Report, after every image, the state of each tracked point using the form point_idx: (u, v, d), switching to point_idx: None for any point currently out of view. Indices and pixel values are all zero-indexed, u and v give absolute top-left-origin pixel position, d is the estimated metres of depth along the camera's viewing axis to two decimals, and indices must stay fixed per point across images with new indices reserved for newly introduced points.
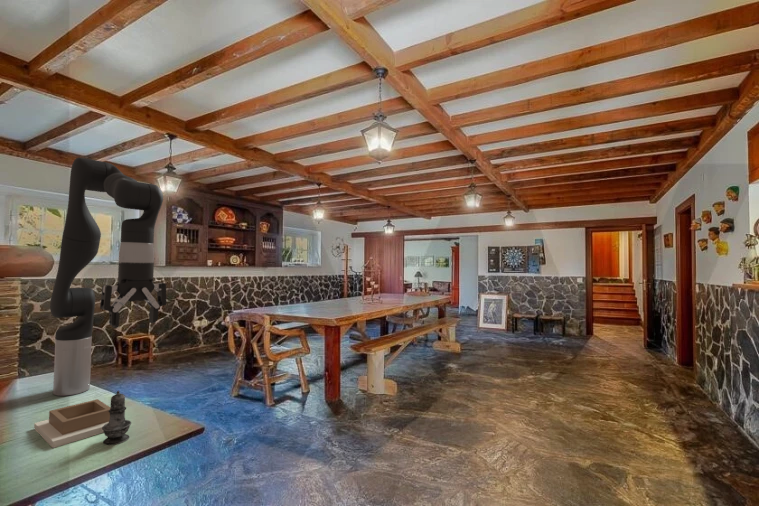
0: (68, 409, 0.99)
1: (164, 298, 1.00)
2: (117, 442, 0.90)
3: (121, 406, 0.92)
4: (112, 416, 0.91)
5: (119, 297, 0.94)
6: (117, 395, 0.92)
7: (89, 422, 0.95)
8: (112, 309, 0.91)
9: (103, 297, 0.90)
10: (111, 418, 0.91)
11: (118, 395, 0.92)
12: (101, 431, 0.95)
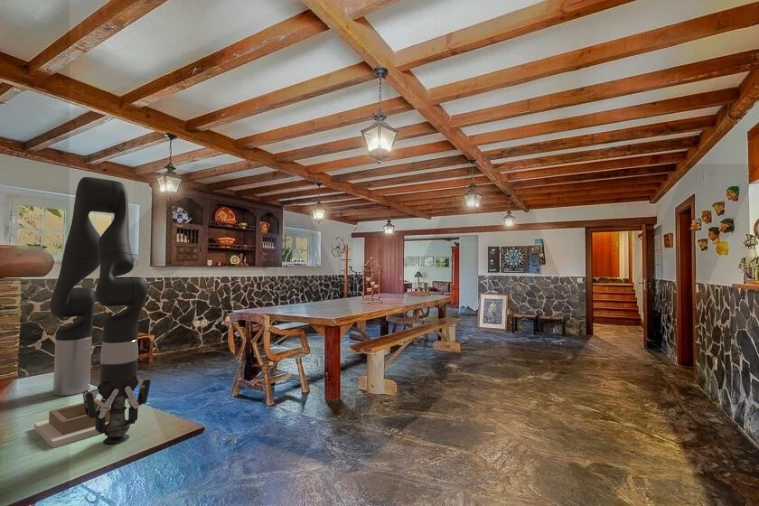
0: (68, 409, 0.99)
1: (145, 396, 0.96)
2: (117, 442, 0.90)
3: (121, 406, 0.92)
4: (112, 416, 0.91)
5: (103, 399, 0.91)
6: None
7: (89, 422, 0.95)
8: (98, 415, 0.88)
9: (86, 405, 0.87)
10: (111, 418, 0.91)
11: None
12: None
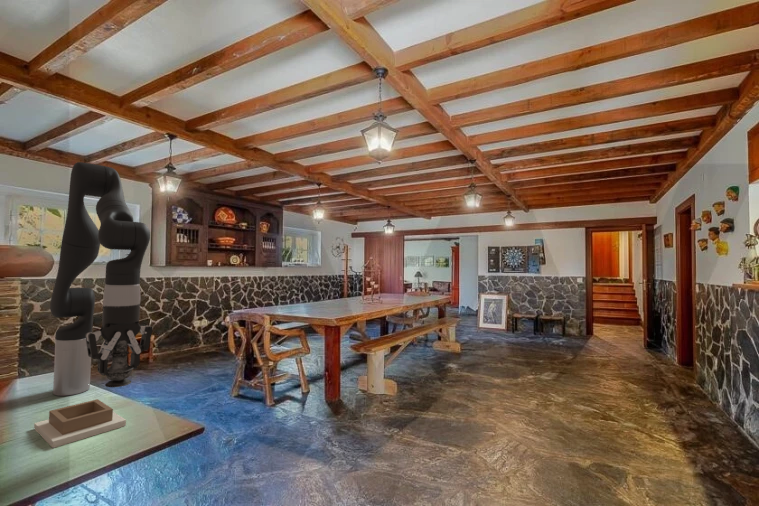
0: (68, 409, 0.99)
1: (147, 342, 0.96)
2: (119, 385, 0.91)
3: (123, 350, 0.92)
4: (114, 359, 0.91)
5: (105, 342, 0.91)
6: None
7: (89, 422, 0.95)
8: (100, 357, 0.89)
9: (88, 346, 0.87)
10: (113, 361, 0.91)
11: None
12: (101, 431, 0.95)
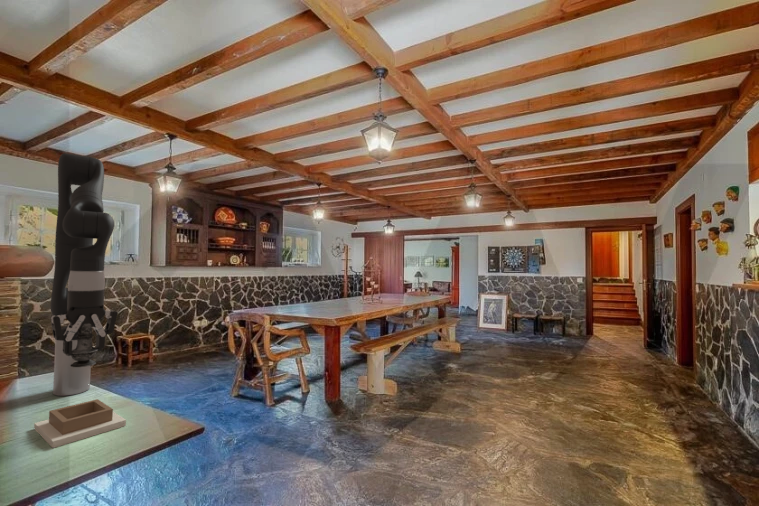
0: (68, 409, 0.99)
1: (112, 326, 1.02)
2: (83, 365, 0.96)
3: (88, 332, 0.98)
4: (79, 341, 0.97)
5: (70, 325, 0.97)
6: None
7: (89, 422, 0.95)
8: (65, 338, 0.94)
9: (53, 328, 0.93)
10: (78, 343, 0.97)
11: None
12: (101, 431, 0.95)
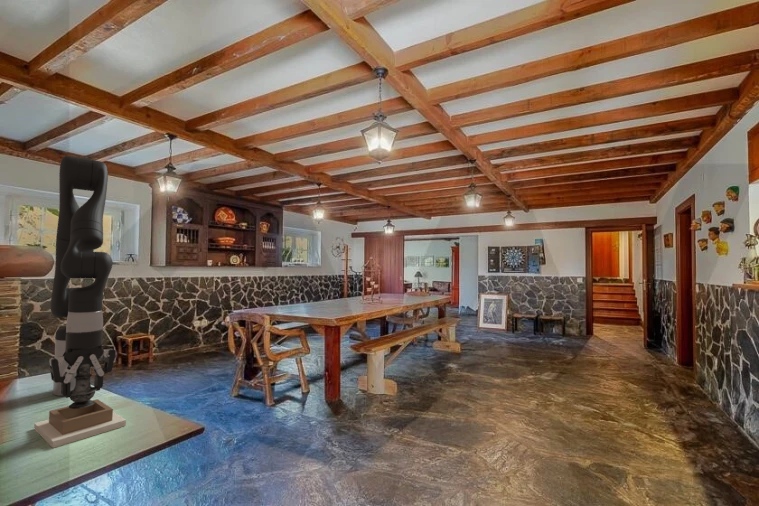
0: (68, 409, 0.99)
1: (110, 365, 1.02)
2: (82, 406, 0.96)
3: (86, 373, 0.98)
4: (77, 382, 0.97)
5: (69, 366, 0.97)
6: None
7: (89, 422, 0.95)
8: (63, 380, 0.94)
9: (51, 370, 0.93)
10: (76, 384, 0.97)
11: None
12: (101, 431, 0.95)
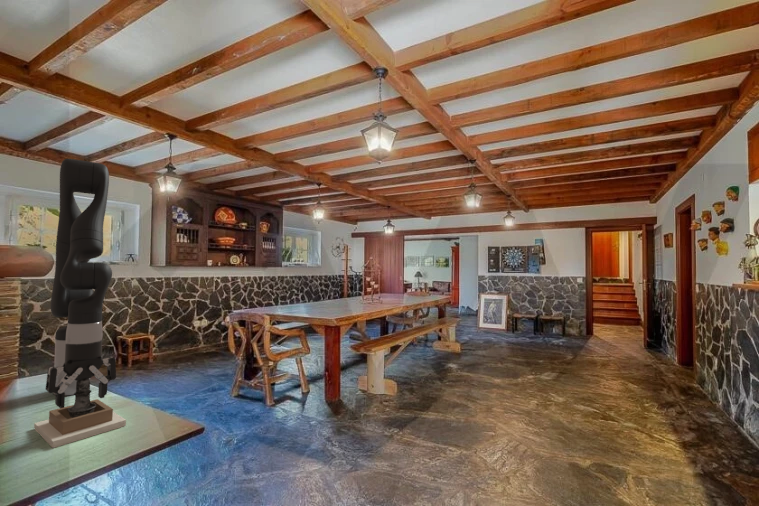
0: None
1: (113, 372, 1.03)
2: None
3: (86, 389, 0.98)
4: (77, 398, 0.97)
5: (66, 376, 0.96)
6: (82, 379, 0.98)
7: (89, 422, 0.95)
8: (57, 390, 0.93)
9: (48, 380, 0.92)
10: (76, 401, 0.97)
11: (83, 379, 0.98)
12: (101, 431, 0.95)
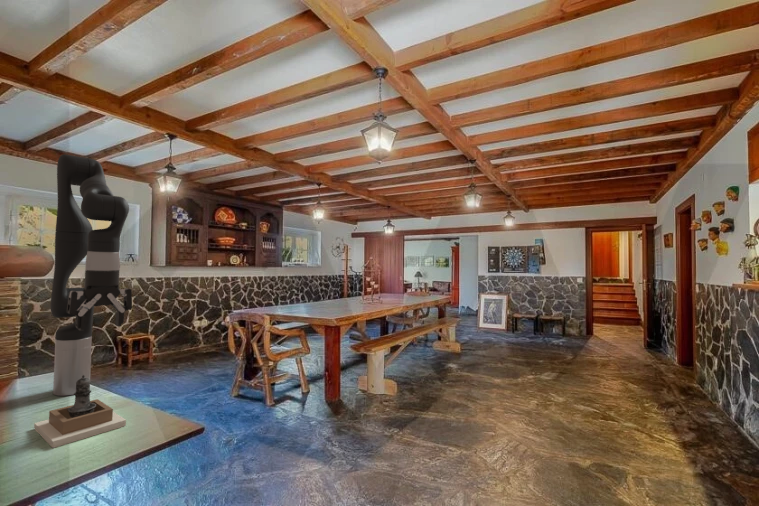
0: None
1: (130, 303, 1.08)
2: None
3: (86, 389, 0.98)
4: (77, 399, 0.97)
5: (85, 302, 1.01)
6: (82, 379, 0.98)
7: (89, 422, 0.95)
8: (78, 313, 0.98)
9: (69, 302, 0.97)
10: (76, 401, 0.97)
11: (83, 379, 0.98)
12: (101, 431, 0.95)
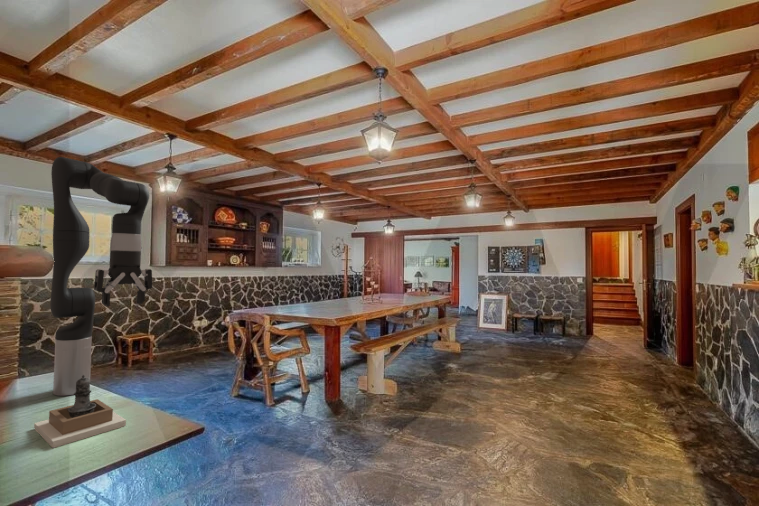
0: None
1: (150, 282, 1.15)
2: None
3: (86, 389, 0.98)
4: (77, 399, 0.97)
5: (110, 280, 1.09)
6: (82, 379, 0.98)
7: (89, 422, 0.95)
8: (104, 290, 1.06)
9: (96, 280, 1.05)
10: (76, 401, 0.97)
11: (83, 379, 0.98)
12: (101, 431, 0.95)
